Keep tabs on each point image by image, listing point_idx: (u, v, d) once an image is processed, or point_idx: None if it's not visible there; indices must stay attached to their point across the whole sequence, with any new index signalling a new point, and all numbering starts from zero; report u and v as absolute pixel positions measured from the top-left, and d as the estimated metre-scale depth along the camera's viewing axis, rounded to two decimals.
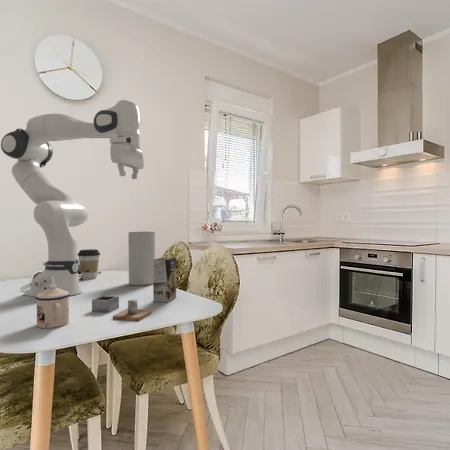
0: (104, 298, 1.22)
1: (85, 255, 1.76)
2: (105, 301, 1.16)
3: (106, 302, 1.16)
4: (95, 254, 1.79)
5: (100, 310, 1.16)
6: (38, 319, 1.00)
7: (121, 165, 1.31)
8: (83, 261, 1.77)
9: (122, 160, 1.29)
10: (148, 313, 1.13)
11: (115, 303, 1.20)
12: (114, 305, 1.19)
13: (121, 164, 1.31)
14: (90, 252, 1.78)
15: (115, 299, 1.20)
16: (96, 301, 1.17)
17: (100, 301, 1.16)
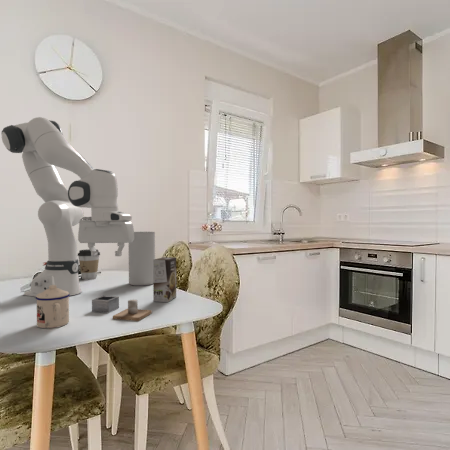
0: (104, 298, 1.22)
1: (85, 255, 1.76)
2: (105, 301, 1.16)
3: (106, 302, 1.16)
4: None
5: (100, 310, 1.16)
6: (38, 319, 1.00)
7: (123, 244, 1.18)
8: (83, 261, 1.77)
9: None
10: (148, 313, 1.13)
11: (115, 303, 1.20)
12: (114, 305, 1.19)
13: (123, 243, 1.18)
14: (90, 252, 1.78)
15: (115, 299, 1.20)
16: (96, 301, 1.17)
17: (100, 301, 1.16)
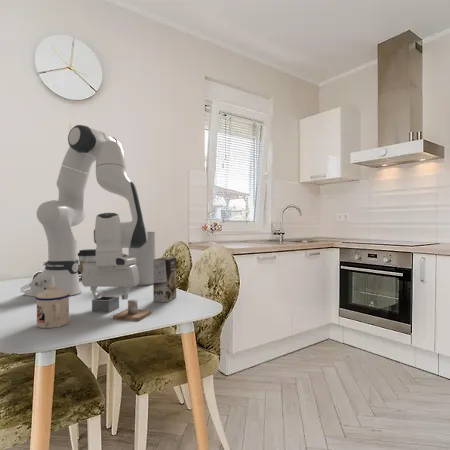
0: (104, 298, 1.22)
1: (85, 255, 1.76)
2: (105, 301, 1.16)
3: (106, 302, 1.16)
4: (95, 254, 1.79)
5: (100, 310, 1.16)
6: (38, 319, 1.00)
7: (130, 287, 1.19)
8: (83, 261, 1.77)
9: None
10: (148, 313, 1.13)
11: (115, 303, 1.20)
12: (114, 305, 1.19)
13: (130, 286, 1.19)
14: (90, 252, 1.78)
15: (115, 299, 1.20)
16: (96, 301, 1.17)
17: (100, 301, 1.16)
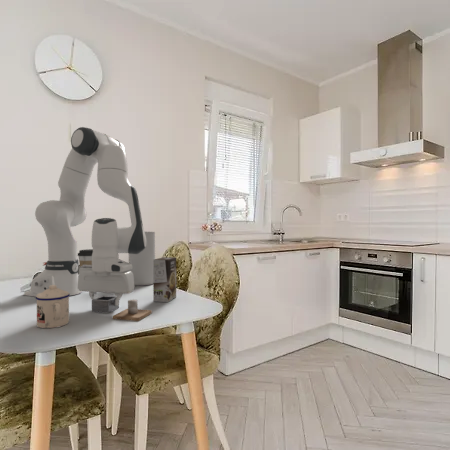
0: (104, 298, 1.22)
1: (85, 255, 1.76)
2: (105, 301, 1.16)
3: (106, 302, 1.16)
4: None
5: (100, 310, 1.16)
6: (38, 319, 1.00)
7: (121, 294, 1.19)
8: (83, 261, 1.77)
9: None
10: (148, 313, 1.13)
11: None
12: None
13: (121, 293, 1.19)
14: (90, 252, 1.78)
15: None
16: (96, 301, 1.17)
17: (100, 301, 1.16)
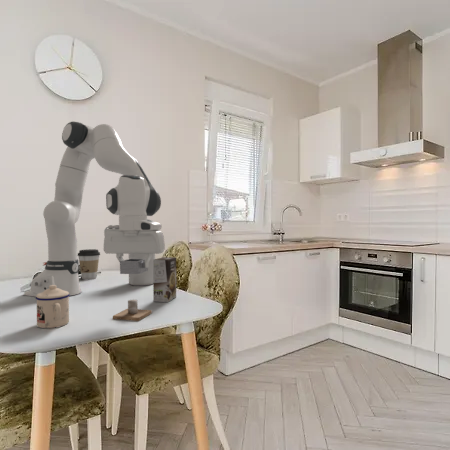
0: (132, 261, 1.14)
1: (85, 255, 1.76)
2: (134, 262, 1.08)
3: (135, 263, 1.08)
4: (95, 254, 1.79)
5: (129, 272, 1.09)
6: (38, 319, 1.00)
7: (151, 255, 1.11)
8: (83, 261, 1.77)
9: None
10: (148, 313, 1.13)
11: None
12: None
13: (151, 254, 1.11)
14: (90, 252, 1.78)
15: (144, 261, 1.12)
16: (124, 262, 1.09)
17: (129, 262, 1.09)
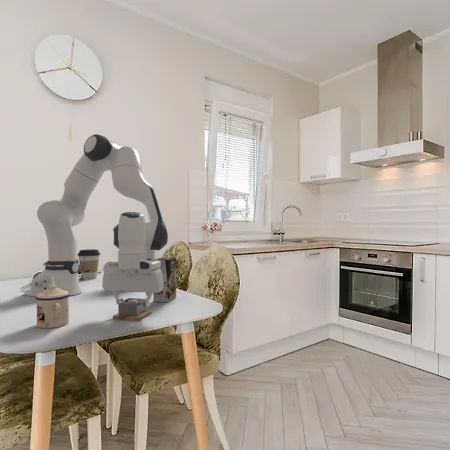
0: None
1: (85, 255, 1.76)
2: (133, 304, 1.08)
3: (134, 305, 1.08)
4: (95, 254, 1.79)
5: (127, 313, 1.08)
6: (38, 319, 1.00)
7: (152, 293, 1.11)
8: (83, 261, 1.77)
9: None
10: (148, 313, 1.13)
11: (142, 306, 1.12)
12: (142, 308, 1.11)
13: (152, 292, 1.11)
14: (90, 252, 1.78)
15: (142, 302, 1.12)
16: (123, 304, 1.09)
17: (127, 304, 1.08)
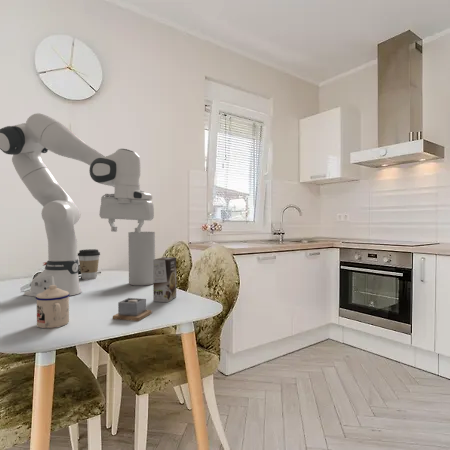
0: None
1: (85, 255, 1.76)
2: (133, 304, 1.08)
3: (134, 305, 1.08)
4: (95, 254, 1.79)
5: (127, 313, 1.08)
6: (38, 319, 1.00)
7: (143, 222, 1.25)
8: (83, 261, 1.77)
9: None
10: (148, 313, 1.13)
11: (142, 306, 1.12)
12: (142, 308, 1.11)
13: (143, 221, 1.25)
14: (90, 252, 1.78)
15: (142, 302, 1.12)
16: (123, 304, 1.09)
17: (127, 304, 1.08)
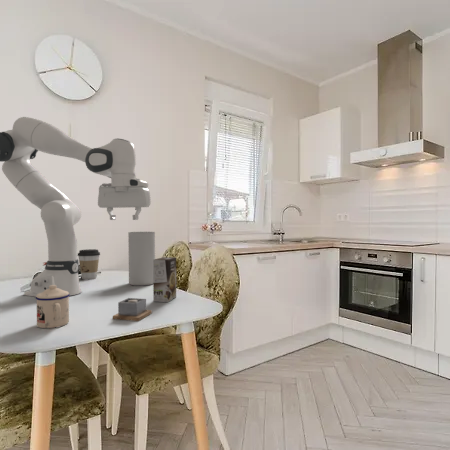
0: None
1: (85, 255, 1.76)
2: (133, 304, 1.08)
3: (134, 305, 1.08)
4: (95, 254, 1.79)
5: (127, 313, 1.08)
6: (38, 319, 1.00)
7: (140, 209, 1.28)
8: (83, 261, 1.77)
9: None
10: (148, 313, 1.13)
11: (142, 306, 1.12)
12: (142, 308, 1.11)
13: (140, 208, 1.28)
14: (90, 252, 1.78)
15: (142, 302, 1.12)
16: (123, 304, 1.09)
17: (127, 304, 1.08)
